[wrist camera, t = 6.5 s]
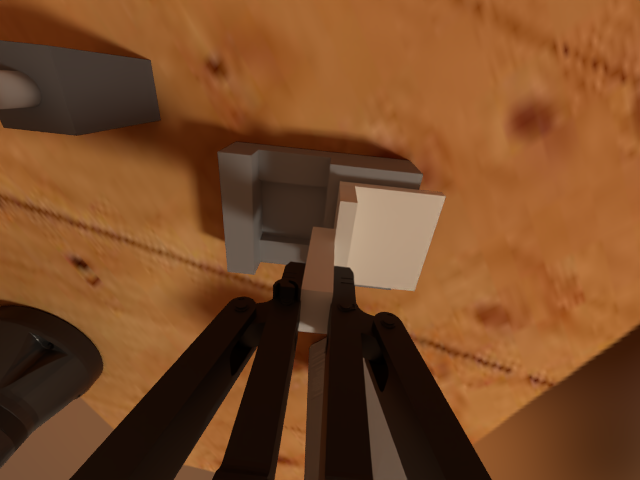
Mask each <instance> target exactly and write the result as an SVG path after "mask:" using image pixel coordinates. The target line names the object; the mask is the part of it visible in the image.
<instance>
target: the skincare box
mask: <svg viewBox="0 0 640 480" xmlns="http://www.w3.org/2000/svg"><path fill="white" fill-rule="evenodd" d="M326 339H327V338H325V339H323V340H321V341H319V342H317V343H315V344H312V345H311V346H310V348H309V367H308V394H307V421H306V447H305V474H304V480H318V476H319V458H320V440H321V422H322V404H323V386H324V368H325V353H324V352H325V346H326ZM363 365H364V377H365V389H366V400H367V412H368V424H369V436H370V448H371V460H372V472H373V480H407V478H406V475H405V472H404V469H403V467H402V464H401V461H400V458H399V455H398V453H397V450H396V447H395V444H394V442H393V439H392V436H391V433H390V430H389V428H388V425H387V422H386V419H385V416H384V414H383V411H382V408H381V405H380V403H379V400H378V397H377V394H376V391H375V389H374V386H373V383H372V380H371V377H370V375H369V372H368V369H367V366H366V364H365V360H364V358H363Z"/></svg>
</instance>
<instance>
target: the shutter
mask: <svg viewBox="0 0 640 480" xmlns="http://www.w3.org/2000/svg"><path fill="white" fill-rule="evenodd" d="M445 197H446V196H445V195H444V194H443V193H442V192H435V191H425V190H416V189H407V188H398V187H389V186H380V185H371V184H362V183H353V182H343V181H340V185H339V192H338V200H337V208H336V215H335V223H334V229H335V249H334V266H341V267H350V269H351V270H352V271H353V273H354V284H355V285H364V286H373V287H382V288H391V289H400V290H409V291H415V288H416V285H417V282H418V279H419V276H420V273H421V270H422V267H423V264H424V261H425V258H426V255H427V252H428V249H429V246H430V243H431V240H432V237H433V234H434V231H435V228H436V224H437V221H438V218H439V215H440V212H441V209H442V206H443V203H444V200H445Z"/></svg>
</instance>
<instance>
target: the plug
mask: <svg viewBox="0 0 640 480" xmlns="http://www.w3.org/2000/svg"><path fill="white" fill-rule="evenodd" d="M0 120H1V123H2V125H3V127H4V128H12V129H21V130H30V131H39V132H48V133H57V134H66V135H76V136H78V135H83V134H89V133H94V132H99V131H105V130H110V129H116V128H121V127H127V126H132V125H137V124H143V123H148V122H154V121H159V120H161V119H160V113H159V107H158V101H157V95H156V90H155V84H154V78H153V72H152V66H151V61H150V60H145V59H138V58H131V57H124V56H117V55H110V54H103V53H96V52H89V51H82V50H75V49H68V48H61V47H54V46H47V45H38V44H28V43H19V42H10V41H1V40H0Z"/></svg>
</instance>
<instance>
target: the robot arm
mask: <svg viewBox="0 0 640 480" xmlns="http://www.w3.org/2000/svg"><path fill="white" fill-rule="evenodd" d="M334 249H335V229H330V228H321V227H313V229H312V235H311V240H310V245H309V251H308V256H307V261H306V263H300V262H291V261H290V262H289V263H288V264H287V265H286V266H285V269H284V273H283V276H282V279H280V280H278V281H276V282H275V283H274V285H273V299H272V300H270V301H268V302H264V303H257V304H256V302H255V301H254V300H253V299H251V298H249V297H238V298H235V299H233V300H231V301H230V302H229V303H228V304H227V305H226V306H225V307H224V309H223V310H222V311H221V312H220V313H219V314H218V315H217V316H216V317H215V319H214V320H213V321H212V322H211V323H210V324H209V325H208V326H207V327H206V328H205V330H204V331H203V332H202V333H201V334H200V335H199V336H198V337H197V338H196V340H195V341H194V342H193V343H192V344H191V345H190V346H189V347H188V348H187V350H186V351H185V352H184V353H183V354H182V355H181V356H180V357H179V358H178V360H177V361H176V362H175V363H174V364H173V365H172V366H171V367H170V368H169V370H168V371H167V372H166V373H165V374H164V375H163V376H162V377H161V378H160V380H159V381H158V382H157V383H156V384H155V385H154V386H153V387H152V388H151V390H150V391H149V392H148V393H147V394H146V395H145V396H144V397H143V398H142V400H141V401H140V402H139V403H138V404H137V405H136V406H135V407H134V408H133V410H132V411H131V412H130V413H129V414H128V415H127V416H126V417H125V418H124V419H123V421H122V422H121V423H120V424H119V425H118V426H117V427H116V428H115V429H114V431H113V432H112V433H111V434H110V435H109V436H108V437H107V438H106V440H105V441H104V442H103V443H102V444H101V445H100V446H99V447H98V448H97V449H96V451H95V452H94V453H93V454H92V455H91V456H90V457H89V458H88V459H87V461H86V462H85V463H84V464H83V465H82V466H81V467H80V468H79V469H78V471H77V472H76V473H75V474H74V475H73V476H72V477H71V478H70V479H69V480H174V478H175V477H176V475H177V473H178V472H179V470H180V469H181V467H182V465H183V464H184V462H185V461H186V459H187V458H188V456H189V454H190V453H191V451H192V450H193V448H194V446H195V445H196V443H197V442H198V440H199V438H200V437H201V435H202V434H203V432H204V431H205V429H206V427H207V426H208V424H209V423H210V421H211V419H212V418H213V416H214V415H215V413H216V412H217V410H218V408H219V407H220V405H221V404H222V402H223V400H224V399H225V397H226V396H227V394H228V392H229V391H230V389H231V388H232V386H233V385H234V383H235V381H236V380H237V378H238V377H239V375H240V373H241V372H242V370H243V369H244V367H245V365H246V364H247V362H248V361H249V359H250V358H251V356H252V354H253V353H254V351H255V350H256V347H257V346H258V349H257V352H256V355H255V359H254V362H253V365H252V368H251V371H250V375H249V378H248V381H247V384H246V388H245V391H244V394H243V397H242V400H241V404H240V407H239V410H238V413H237V417H236V420H235V423H234V426H233V430H232V433H231V436H230V439H229V442H228V446H227V449H226V452H225V455H224V459H223V461H222V464H221V466H220V468H219V469H218V470H217V471H216V472H215V475H214V477H213V479H212V480H274V479H275V473H276V467H277V460H278V454H279V448H280V442H281V436H282V430H283V424H284V418H285V412H286V405H287V399H288V393H289V387H290V381H291V375H292V369H293V363H294V357H295V351H296V344H297V337H298V331H302V332H311V333H320V334H327V339H326V346H325V352H324V353H325V368H324V386H323V404H322V422H321V440H320V458H319V476H318V480H373V472H372V460H371V448H370V436H369V424H368V412H367V400H366V389H365V377H364V365H363V358H364V360H365V364H366V366H367V369H368V372H369V375H370V377H371V380H372V383H373V386H374V389H375V391H376V394H377V397H378V400H379V403H380V405H381V408H382V411H383V414H384V416H385V419H386V422H387V425H388V428H389V430H390V433H391V436H392V439H393V442H394V444H395V447H396V450H397V453H398V455H399V458H400V461H401V464H402V467H403V469H404V472H405V475H406V478H407V480H492V479H491V478H490V476H489V474H488V472H487V471H486V469H485V467H484V465H483V464H482V462H481V460H480V458H479V457H478V455H477V453H476V452H475V450H474V448H473V446H472V444H471V442H470V441H469V439H468V437H467V435H466V434H465V432H464V430H463V428H462V427H461V425H460V423H459V421H458V420H457V418H456V416H455V414H454V413H453V411H452V409H451V407H450V406H449V404H448V402H447V400H446V399H445V397H444V395H443V393H442V392H441V390H440V388H439V386H438V385H437V383H436V381H435V379H434V378H433V376H432V374H431V372H430V371H429V369H428V367H427V365H426V364H425V362H424V360H423V358H422V356H421V355H420V353H419V351H418V349H417V348H416V346H415V344H414V342H413V341H412V339H411V337H410V335H409V334H408V332H407V330H406V328H405V327H404V325H403V323H402V321H401V320H400V319H399V318H398V317H397V316H395V315H394V314H391V313H389V312H380V313H378V314H376V315H375V316H372V315H369V314H367V313H365V312H363V311H362V310H360V309H359V308H358V305H357V304H356V297H355V285H354V273H353V271H352V270H351V269H350V267H341V266H334ZM102 371H103V361H102V358H101V356H100V354H99V352H98V350H97V349H96V347H95V346H94V345H93V344H92V342H91V341H90V340H89V339H88V338H87V337H86V336H84V335H83V334H82V333H81V332H80V331H78V330H77V329H75V328H74V327H73V326H71V325H69V324H68V323H66V322H64V321H62V320H60V319H59V318H56V317H54V316H52V315H50V314H47V313H44V312H42V311H38V310H35V309H31V308H26V307H20V306H1V307H0V468H1V467H2V466H3V465H4V463H6V461H7V460H8V459H9V458H10V457H11V456H12V455H13V453H14V452H15V451H16V450H17V449H18V448H19V446H21V444H22V443H23V442H24V441H25V440H26V439H27V438H28V437H29V435H30V434H31V433H32V432H33V431H35V430H36V429H37V428H38V427H39V426H41V425H42V424H43V423H45V422H46V421H47V420H49V419H50V418H51V417H52V416H54V415H55V414H56V413H58V412H59V411H60V410H62V409H63V408H64V407H65V406H67V405H68V404H69V403H70V402H71V401H73V400H74V399H77V398H79V397H80V396H82V395H83V394H84V393H85V392H87V391H88V390H89V389H90V387H91V386H92V385H93V384H94V382H95V381H96V380H97V379H98V378H99V376H100V375H101V373H102Z"/></svg>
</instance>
